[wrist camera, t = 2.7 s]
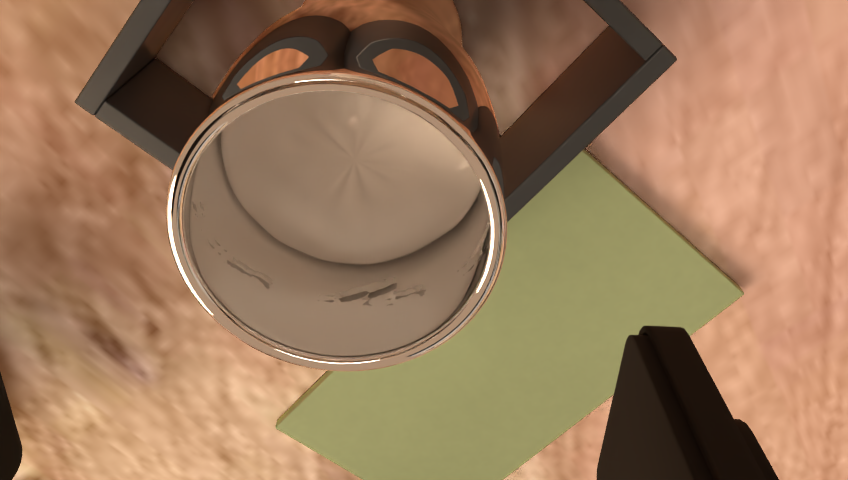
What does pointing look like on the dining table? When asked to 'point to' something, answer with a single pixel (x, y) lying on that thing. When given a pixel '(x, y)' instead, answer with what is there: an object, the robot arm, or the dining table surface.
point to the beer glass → (344, 187)
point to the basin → (521, 144)
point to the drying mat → (521, 342)
